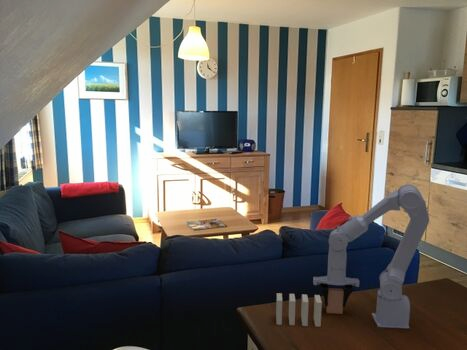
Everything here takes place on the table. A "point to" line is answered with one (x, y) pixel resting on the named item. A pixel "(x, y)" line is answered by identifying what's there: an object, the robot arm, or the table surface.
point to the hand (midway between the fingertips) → (334, 305)
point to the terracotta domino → (335, 301)
